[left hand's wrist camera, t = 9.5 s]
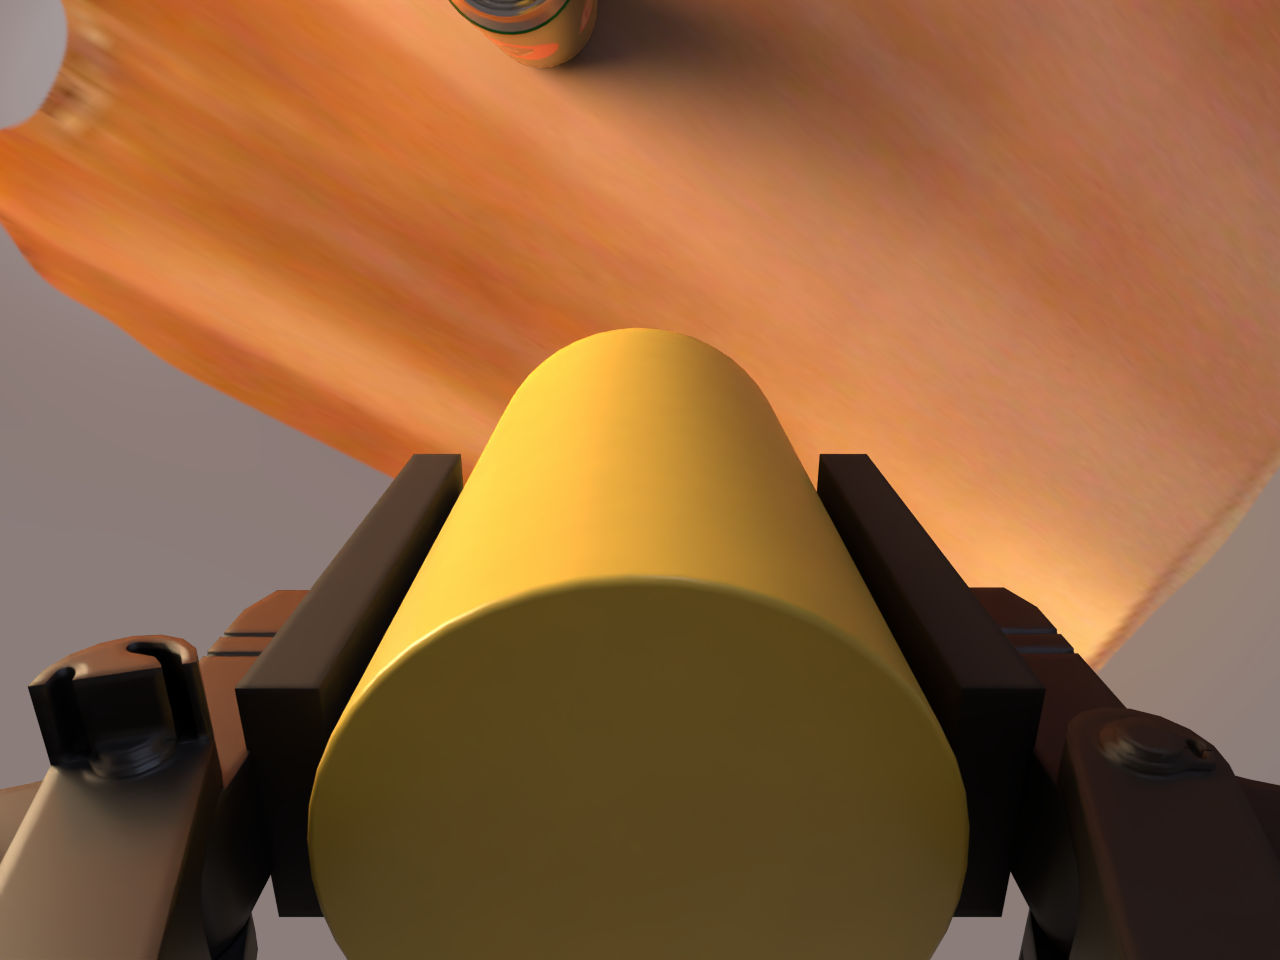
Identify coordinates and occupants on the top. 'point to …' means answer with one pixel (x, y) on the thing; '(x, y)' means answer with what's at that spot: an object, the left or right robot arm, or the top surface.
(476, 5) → the soda can
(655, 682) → the can
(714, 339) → the top surface
